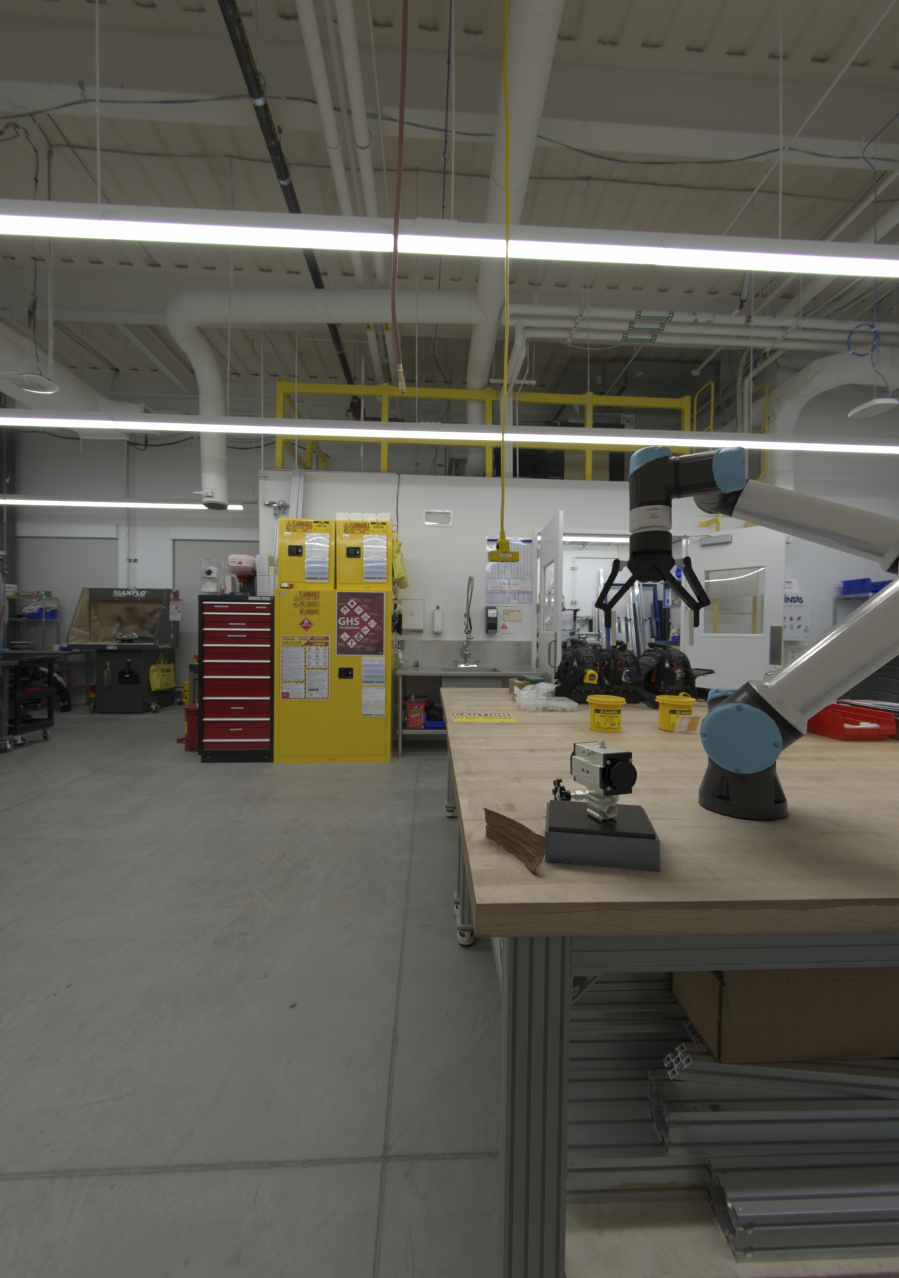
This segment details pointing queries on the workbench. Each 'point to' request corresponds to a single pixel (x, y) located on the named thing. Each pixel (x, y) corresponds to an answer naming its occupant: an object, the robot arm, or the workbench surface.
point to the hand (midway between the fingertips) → (650, 645)
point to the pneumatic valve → (603, 775)
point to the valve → (565, 795)
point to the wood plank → (516, 839)
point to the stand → (601, 837)
